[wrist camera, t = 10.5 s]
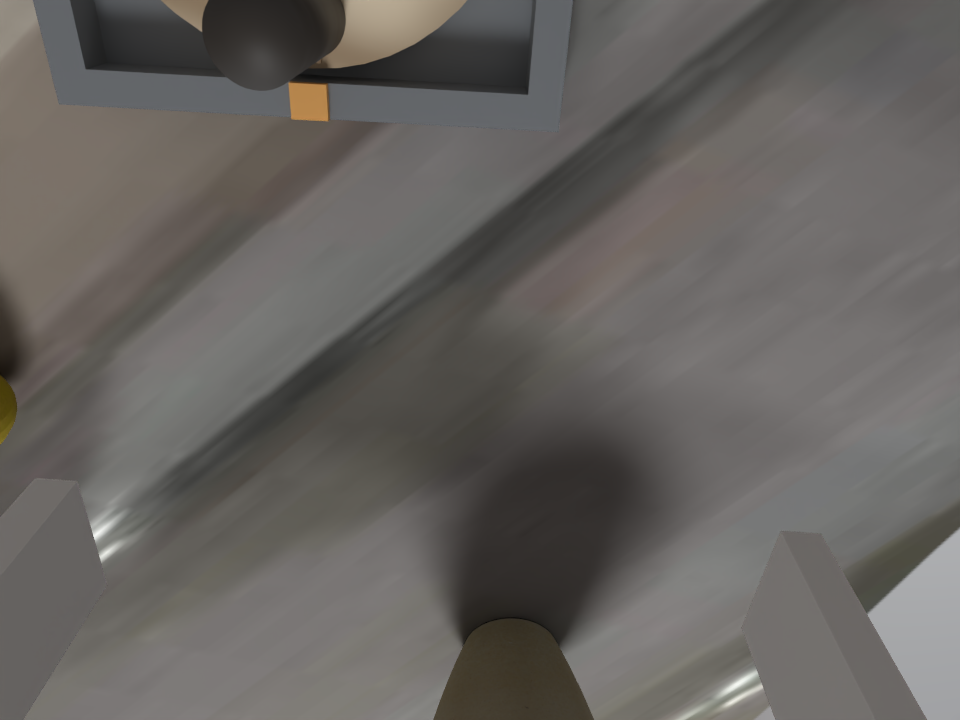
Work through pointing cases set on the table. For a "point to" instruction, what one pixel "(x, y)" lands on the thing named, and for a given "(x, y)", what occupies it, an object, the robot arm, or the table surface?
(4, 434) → the lemon
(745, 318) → the table surface
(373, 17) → the dial
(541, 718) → the plant pot
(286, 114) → the dial frame
